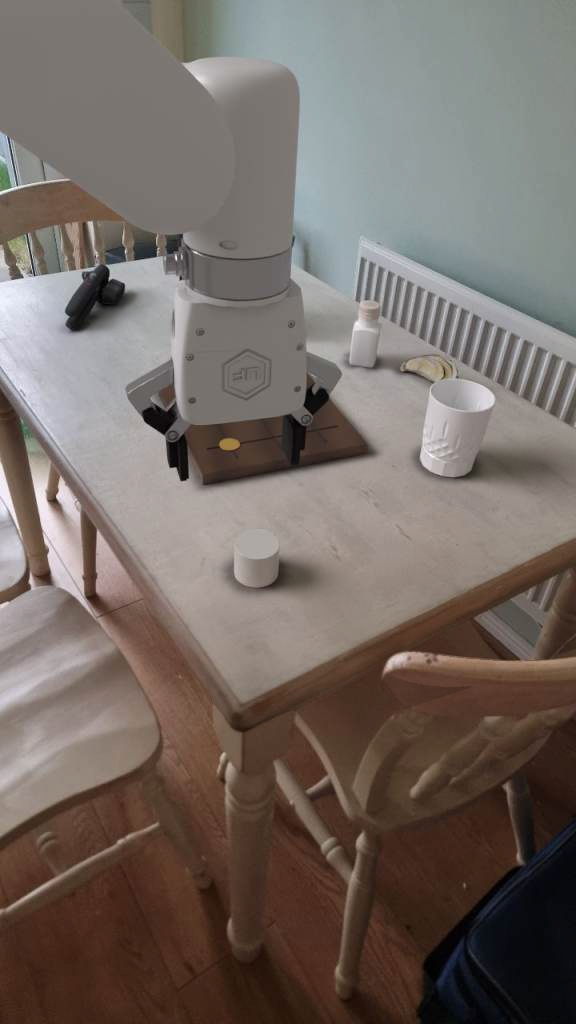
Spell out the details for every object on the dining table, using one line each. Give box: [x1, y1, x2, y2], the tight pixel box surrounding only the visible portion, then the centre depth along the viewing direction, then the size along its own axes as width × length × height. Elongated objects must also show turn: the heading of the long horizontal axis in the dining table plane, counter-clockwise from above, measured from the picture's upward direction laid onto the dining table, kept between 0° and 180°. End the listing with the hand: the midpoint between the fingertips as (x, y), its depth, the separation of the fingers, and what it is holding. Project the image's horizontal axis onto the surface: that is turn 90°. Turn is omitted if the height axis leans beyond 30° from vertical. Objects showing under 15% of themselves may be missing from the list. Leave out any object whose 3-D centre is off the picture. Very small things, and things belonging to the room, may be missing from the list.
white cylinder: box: [233, 528, 281, 589], centre depth 71 cm, size 5×5×4 cm
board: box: [157, 372, 368, 485], centre depth 94 cm, size 22×22×2 cm
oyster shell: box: [399, 354, 459, 384], centre depth 105 cm, size 6×4×10 cm
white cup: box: [419, 378, 497, 478], centre depth 86 cm, size 8×8×10 cm
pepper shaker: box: [348, 299, 382, 368], centre depth 107 cm, size 4×4×10 cm
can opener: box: [64, 264, 126, 330], centre depth 117 cm, size 18×7×6 cm, turn 169°
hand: (236, 464), depth 60 cm, fingers open, 9 cm apart
